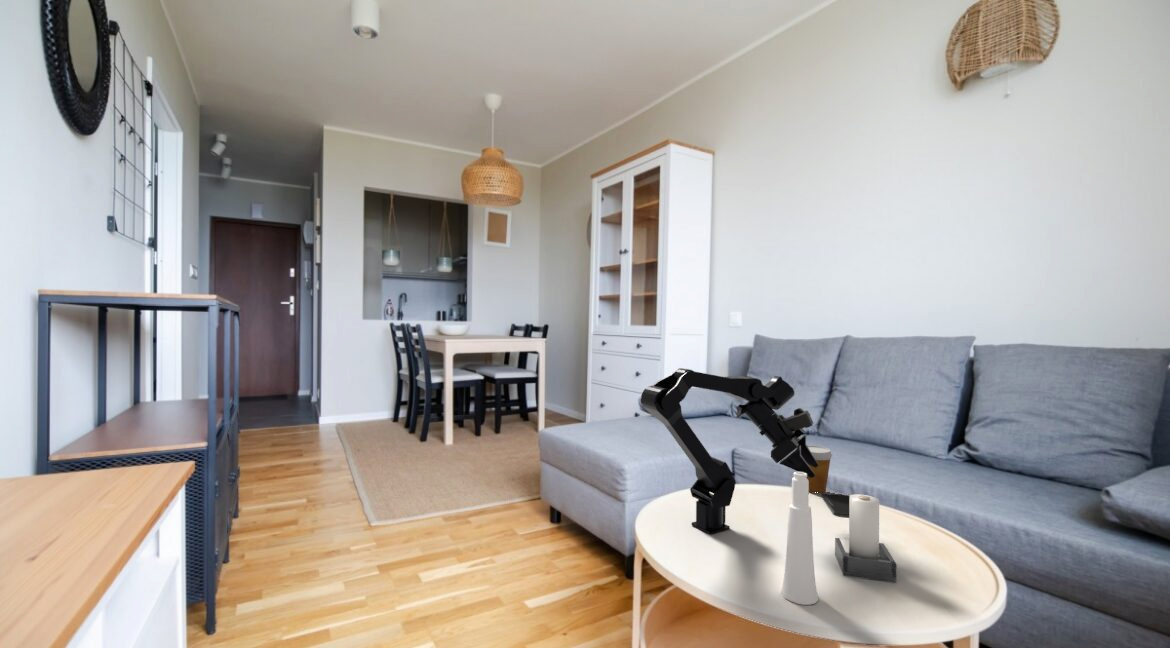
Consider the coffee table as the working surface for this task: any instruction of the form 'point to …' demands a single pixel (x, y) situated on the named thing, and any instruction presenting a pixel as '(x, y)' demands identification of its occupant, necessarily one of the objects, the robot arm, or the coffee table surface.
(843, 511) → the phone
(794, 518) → the cosmetic bottle
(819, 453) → the disposable coffee cup
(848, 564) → the tray
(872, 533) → the paper roll
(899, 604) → the coffee table surface
